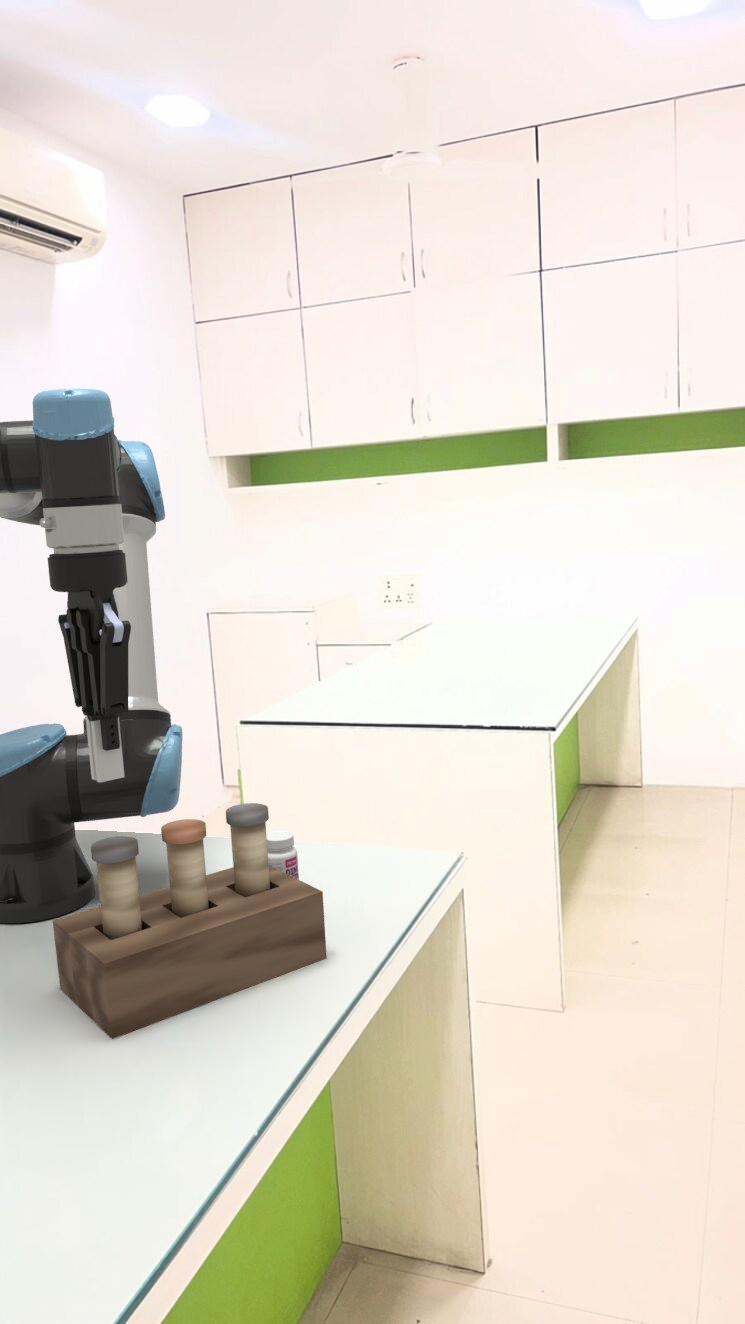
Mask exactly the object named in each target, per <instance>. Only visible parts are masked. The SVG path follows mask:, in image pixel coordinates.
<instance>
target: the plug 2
mask: <svg viewBox="0 0 745 1324" xmlns="http://www.w3.org/2000/svg"><path fill="white" fill-rule="evenodd" d="M269 815H270V814H269V807H268V805H266V804H262V803H255V802H251V803H249V802H247V803H241V804H235V805H233V806H230V807H228V808H227V809H226V810H225V820H226V824H227V825H229V826H230V828H229V829H230V839H231V852H232V853H231V854H232V866H233V868H234V881H235V892H236V893H238V894H240V895H242V896H244V897H248V896H252V895H255V894H258V893H261V892H264V891H267V890H270V879H269V865H268V851H267V837H266V834H267V826H266V822H267V821H269V817H270V816H269Z"/></svg>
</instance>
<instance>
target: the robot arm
mask: <svg viewBox="0 0 745 1324" xmlns="http://www.w3.org/2000/svg"><path fill="white" fill-rule="evenodd" d="M32 418H33V419H31V420H13V421H12V420H11V421H0V518H1V519H3V520H4V519H5V520H8V521H12V522H13V521H14V522H17V523H21V524H27V525H34V526H40V527H41V528H42V529H44V530H45V532H44V533H45V541H46V544H45V545H46V546H47V548H49V549H53V553H50V554H48V555H49V557H47V558H46V559H47V567H48V576H49V586H50V589H52V590H53V592H57V593H67V603H66V608H67V609H66V613H65V614H59V615H58V617H57V618H58V619H57V621H58V622H57V623H58V624H59V628H60V632H61V634H62V637H63V642H64V648H65V654H66V659H67V664H68V670H69V676H70V681H71V683H70V684H71V688H72V694H73V697H74V698H73V700H74V704H75V706H76V708H81V711H82V714H83V715H84V718H82V719H83V720H82V723H83V732H82V733H79V734H67V730H66V728H65V727H64V726H63V724H60V723H55V722H54V723H41V724H35V725H31V726H25V727H22V728H17V729H14V730H10V731H7V732H4V733H1V734H0V923H2V924H21V923H22V924H24V923H31V922H32V923H33V922H38V921H45V920H49V919H53V918H56V917H59V916H63V915H66V914H69V913H70V912H73V911H76V910H77V909H80V908H81V907H83V906H84V905H86V904H87V903H89V902H90V901H91V900H92V899H93V897H95V892H96V890H95V879H94V875H93V873H92V870H91V867H90V866H89V864H88V862H87V859H86V857H85V855H84V853H83V851H82V848H81V847H80V844H79V842H78V840H77V836H76V827H75V826H76V825H75V823H83V822H84V823H85V822H93V821H95V822H96V821H102V820H111V819H122V818H128V817H139V816H140V817H141V818H145V817H147V816H150V815H151V816H152V815H155V814H163V813H168V812H170V811H172V810H174V809H175V808H176V807H177V805H178V803H179V799H180V791H181V778H182V766H183V765H182V764H183V763H182V762H183V759H182V757H183V728H182V726H181V725H178V724H176V723H174V724H172V722H171V721H172V720H171V719H172V718H171V712H170V711H169V710H168V709H167V708H165V707H164V706H162V705H161V703H160V702H159V692H158V680H157V668H156V666H157V665H156V654H155V639H154V627H153V614H152V603H151V590H150V589H151V588H150V585H151V584H150V576H149V575H150V574H149V560H148V548H147V547H148V546H147V543H148V542H149V541H150V540H151V539H152V538H154V536H155V535H156V533H157V523H160V522H161V521H163V520H165V518H166V511H165V505H164V500H163V499H164V498H163V494H162V490H161V484H160V479H159V478H160V477H159V473H158V470H157V469H158V468H157V464H156V461H155V458H154V453H153V451H152V448H151V447H150V446H149V444H147V443H146V442H144V441H140V440H136V441H135V440H131V441H129V440H120V439H118V437H117V435H116V434H115V417H114V416H113V409H112V402H111V398H110V396H109V395H108V393H107V392H105V391H103V390H101V389H96V388H93V389H92V388H62V389H61V388H59V389H50V390H44V391H43V390H42V391H40V392H38V393H36V394H35V395H34V397H33V400H32Z"/></svg>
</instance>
